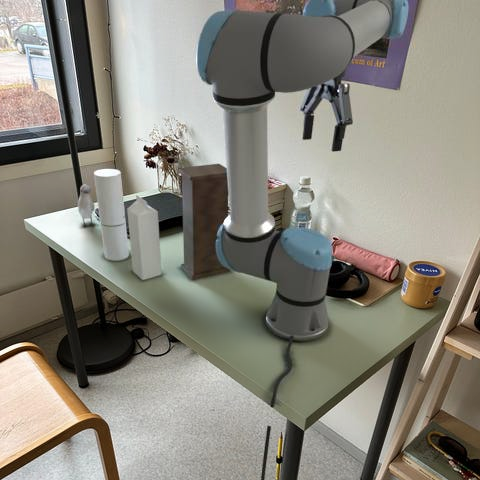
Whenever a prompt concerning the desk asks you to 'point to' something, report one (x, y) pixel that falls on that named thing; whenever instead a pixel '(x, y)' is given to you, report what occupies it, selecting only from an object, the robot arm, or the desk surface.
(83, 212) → the bird
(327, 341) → the desk surface
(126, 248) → the cylindrical container
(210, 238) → the wooden pedestal column
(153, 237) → the milk
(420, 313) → the desk surface
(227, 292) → the desk surface
